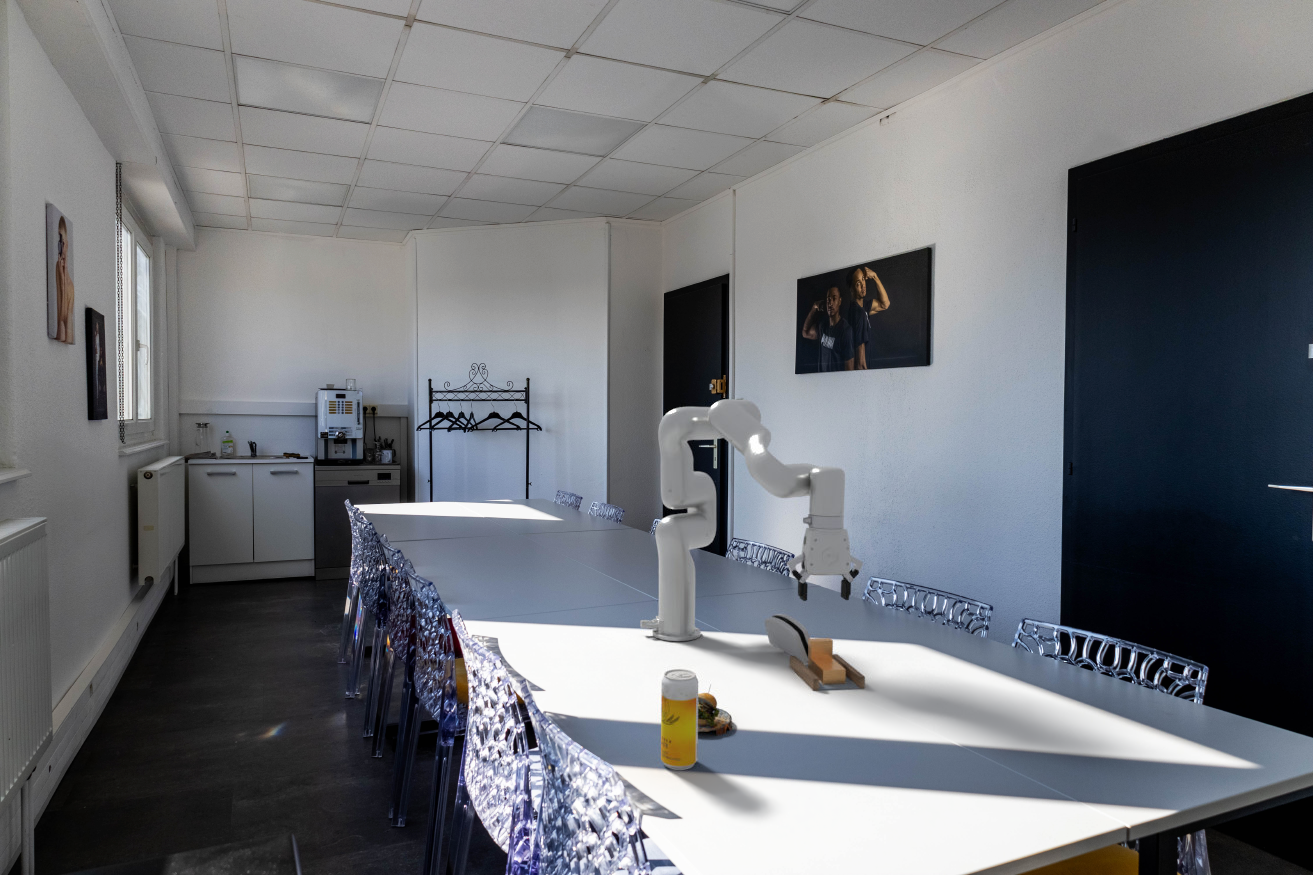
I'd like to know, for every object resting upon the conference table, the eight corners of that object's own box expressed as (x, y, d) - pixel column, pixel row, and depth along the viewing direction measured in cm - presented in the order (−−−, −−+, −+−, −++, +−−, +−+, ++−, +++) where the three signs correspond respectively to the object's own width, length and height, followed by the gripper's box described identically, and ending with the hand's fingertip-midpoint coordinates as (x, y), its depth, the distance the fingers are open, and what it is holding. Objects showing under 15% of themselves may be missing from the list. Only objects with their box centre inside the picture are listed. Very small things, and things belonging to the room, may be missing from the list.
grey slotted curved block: (822, 659, 192) (811, 621, 190) (806, 668, 190) (794, 629, 189) (786, 640, 207) (775, 605, 206) (770, 648, 206) (759, 613, 204)
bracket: (808, 669, 183) (808, 638, 183) (829, 668, 184) (829, 637, 184) (822, 684, 173) (823, 651, 173) (845, 683, 174) (845, 650, 174)
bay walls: (813, 690, 170) (813, 678, 170) (789, 666, 186) (789, 655, 186) (864, 688, 172) (864, 676, 172) (836, 664, 188) (837, 654, 188)
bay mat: (819, 690, 171) (819, 688, 171) (794, 666, 186) (795, 664, 186) (858, 688, 172) (858, 686, 172) (831, 664, 188) (831, 663, 188)
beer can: (659, 755, 137) (660, 668, 137) (694, 754, 138) (695, 667, 137) (662, 771, 131) (663, 680, 131) (699, 770, 132) (700, 679, 131)
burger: (659, 719, 155) (659, 680, 154) (714, 710, 159) (714, 673, 159) (686, 742, 144) (686, 701, 143) (744, 732, 148) (744, 692, 148)
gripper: (794, 525, 174) (791, 604, 175) (870, 525, 177) (867, 602, 177) (783, 520, 181) (781, 595, 182) (856, 520, 184) (854, 594, 185)
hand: (824, 599), depth 180 cm, fingers open, 9 cm apart
